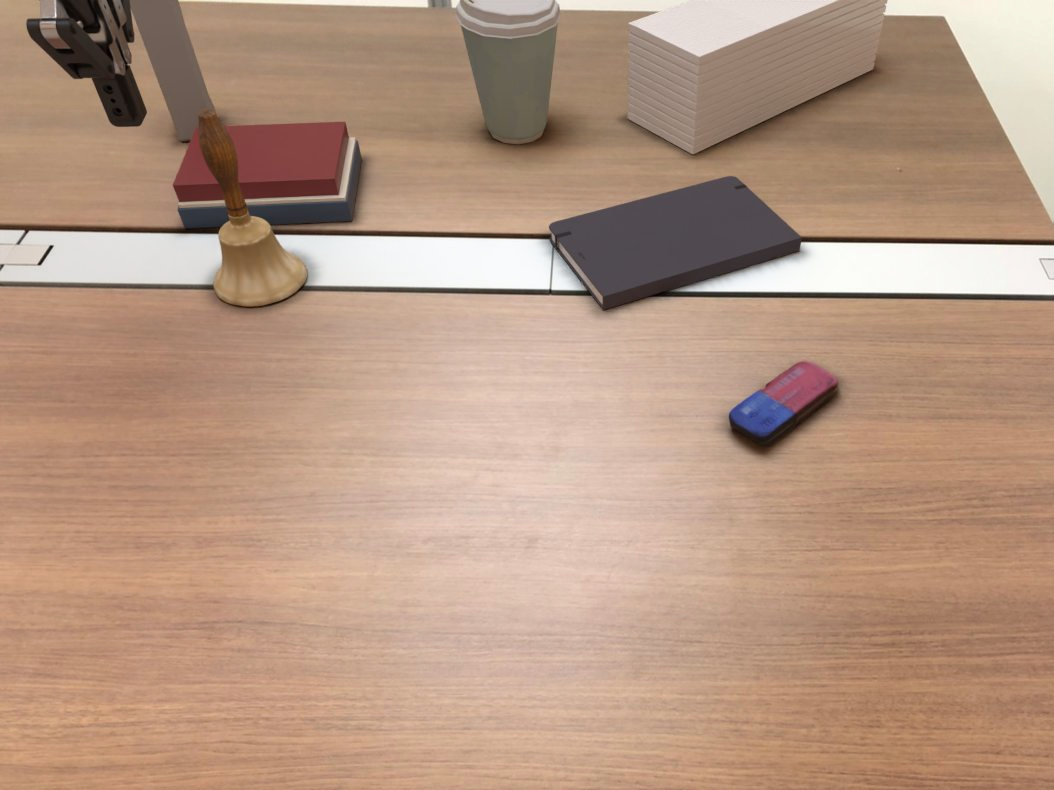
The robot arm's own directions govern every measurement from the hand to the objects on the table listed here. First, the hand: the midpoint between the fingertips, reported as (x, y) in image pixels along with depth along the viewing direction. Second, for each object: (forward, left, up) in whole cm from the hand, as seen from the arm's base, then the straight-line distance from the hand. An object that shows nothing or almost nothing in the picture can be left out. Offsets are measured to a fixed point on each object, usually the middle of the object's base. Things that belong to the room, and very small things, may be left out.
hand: (130, 121), depth 66 cm
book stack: (+16, +16, -19) cm, 30 cm away
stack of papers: (+68, -5, -19) cm, 71 cm away
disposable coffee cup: (+42, +8, -20) cm, 47 cm away
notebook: (+38, -19, -20) cm, 47 cm away
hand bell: (+7, +4, -20) cm, 21 cm away
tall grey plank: (+17, +33, -20) cm, 42 cm away
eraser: (+27, -41, -20) cm, 53 cm away
